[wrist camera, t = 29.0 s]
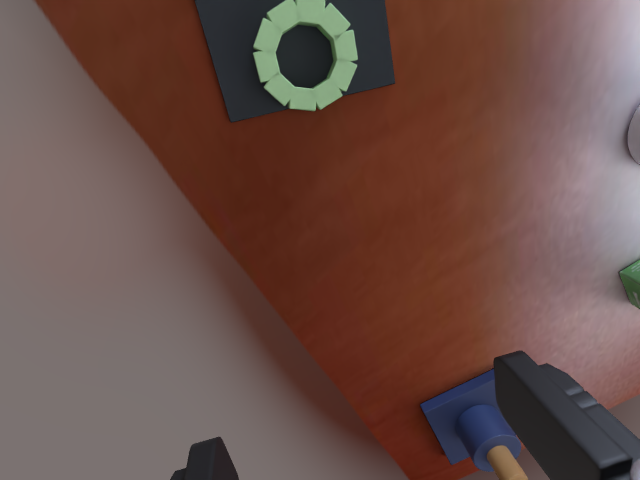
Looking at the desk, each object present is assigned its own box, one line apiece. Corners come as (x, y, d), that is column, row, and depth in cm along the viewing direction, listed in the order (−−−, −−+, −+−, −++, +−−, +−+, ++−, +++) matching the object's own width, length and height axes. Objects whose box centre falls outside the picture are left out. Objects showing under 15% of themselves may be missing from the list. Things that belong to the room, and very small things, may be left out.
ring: (270, 119, 28) (270, 121, 26) (242, 11, 25) (241, 8, 24) (359, 98, 28) (364, 99, 27) (342, -11, 25) (346, -16, 24)
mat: (231, 122, 27) (230, 122, 27) (169, -86, 23) (168, -88, 23) (394, 83, 28) (395, 83, 28) (367, -129, 23) (368, -130, 23)
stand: (446, 455, 44) (483, 531, 36) (419, 404, 40) (454, 476, 33) (520, 421, 43) (572, 490, 36) (499, 365, 40) (553, 430, 32)
